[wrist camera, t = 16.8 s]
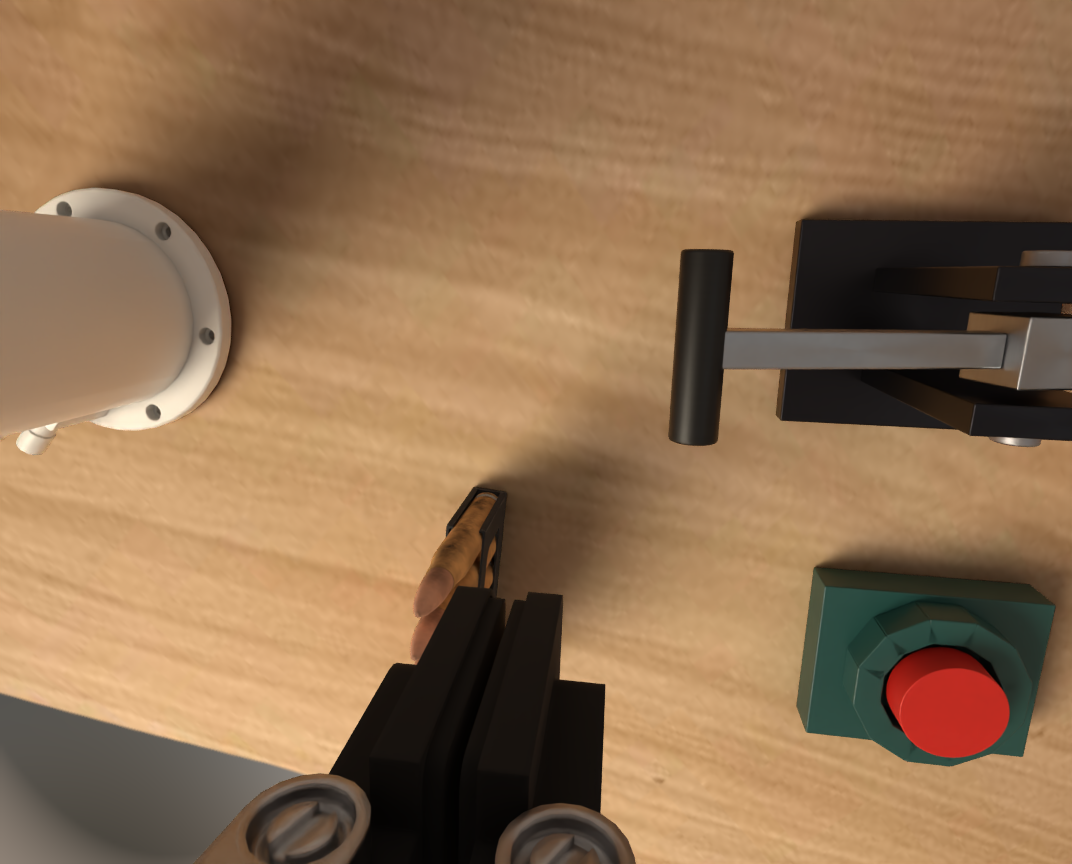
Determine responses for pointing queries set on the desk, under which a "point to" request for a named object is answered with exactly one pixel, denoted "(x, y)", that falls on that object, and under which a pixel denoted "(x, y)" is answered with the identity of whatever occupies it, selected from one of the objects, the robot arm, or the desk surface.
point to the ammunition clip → (461, 561)
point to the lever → (843, 348)
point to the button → (947, 702)
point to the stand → (924, 319)
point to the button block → (908, 626)
